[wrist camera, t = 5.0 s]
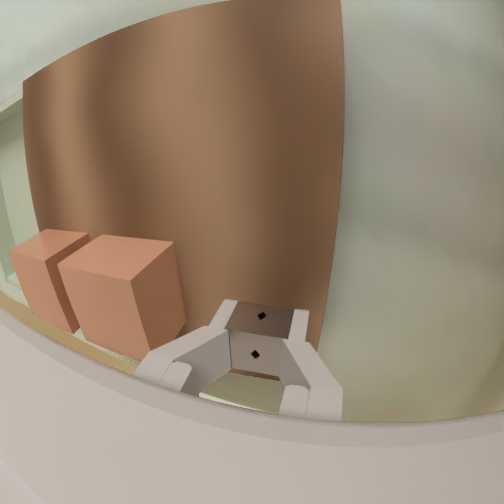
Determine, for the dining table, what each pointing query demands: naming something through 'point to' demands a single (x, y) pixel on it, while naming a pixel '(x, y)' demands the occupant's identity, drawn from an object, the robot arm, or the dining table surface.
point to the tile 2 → (125, 293)
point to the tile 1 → (47, 274)
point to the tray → (14, 186)
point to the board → (203, 148)
